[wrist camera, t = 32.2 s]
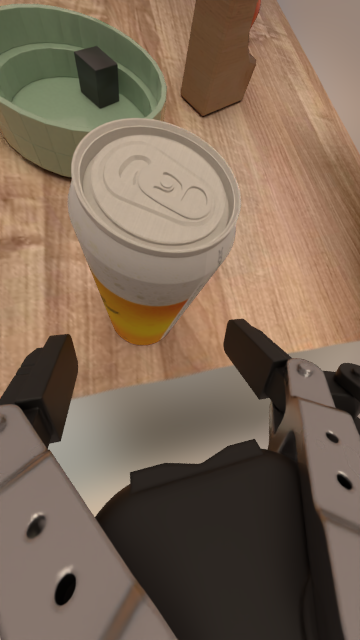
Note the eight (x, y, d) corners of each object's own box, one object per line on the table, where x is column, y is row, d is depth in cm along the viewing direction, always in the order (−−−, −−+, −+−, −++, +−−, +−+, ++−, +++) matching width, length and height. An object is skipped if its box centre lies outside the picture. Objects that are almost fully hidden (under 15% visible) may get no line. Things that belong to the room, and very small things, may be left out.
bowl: (54, 207, 21) (29, 153, 16) (-35, 86, 23) (-84, 2, 18) (187, 160, 28) (199, 111, 23) (110, 68, 30) (105, 3, 24)
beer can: (130, 280, 21) (122, 83, 7) (180, 305, 21) (270, 169, 7) (99, 329, 19) (1, 191, 5) (156, 356, 19) (217, 302, 5)
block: (100, 109, 26) (95, 70, 23) (80, 92, 26) (73, 51, 23) (119, 101, 27) (117, 63, 24) (101, 85, 27) (96, 45, 24)
